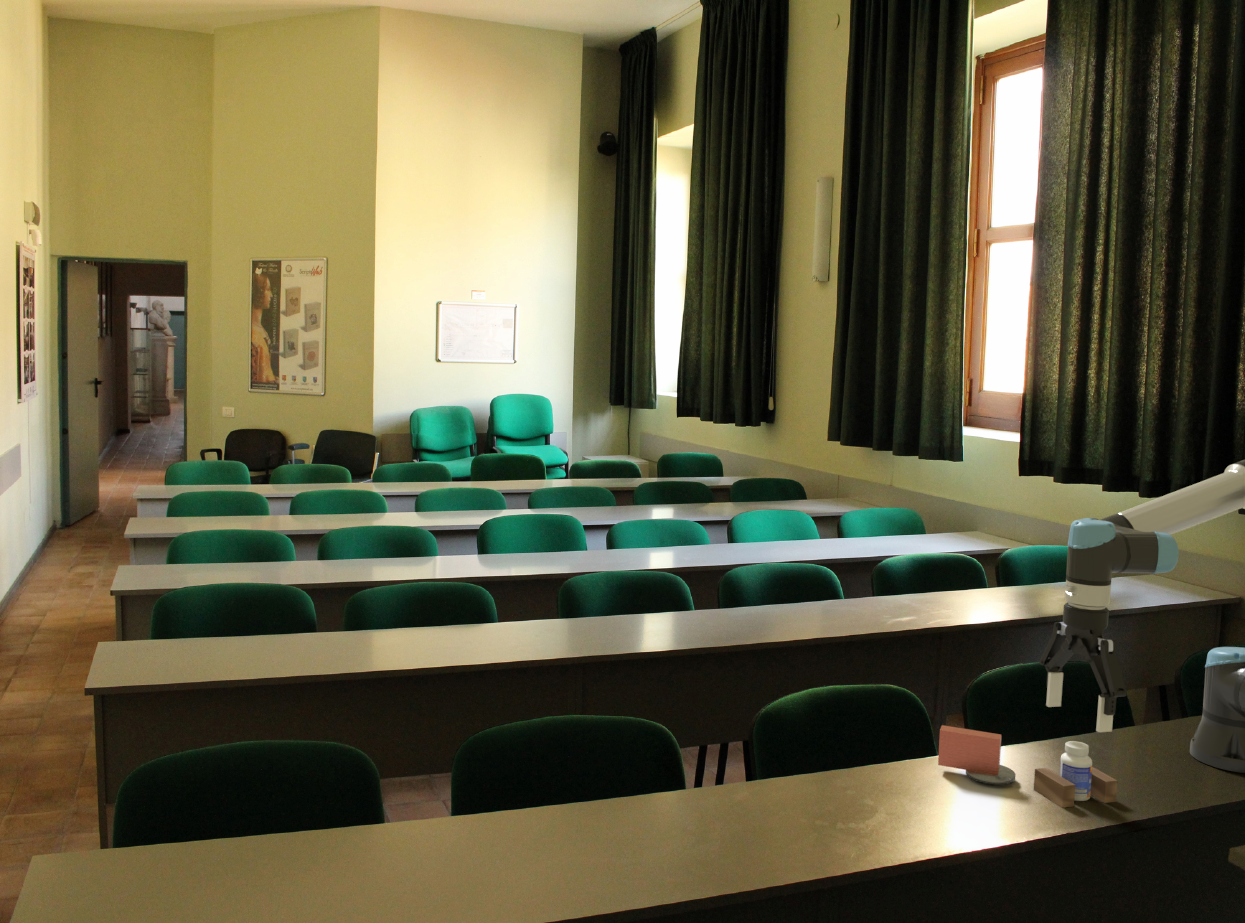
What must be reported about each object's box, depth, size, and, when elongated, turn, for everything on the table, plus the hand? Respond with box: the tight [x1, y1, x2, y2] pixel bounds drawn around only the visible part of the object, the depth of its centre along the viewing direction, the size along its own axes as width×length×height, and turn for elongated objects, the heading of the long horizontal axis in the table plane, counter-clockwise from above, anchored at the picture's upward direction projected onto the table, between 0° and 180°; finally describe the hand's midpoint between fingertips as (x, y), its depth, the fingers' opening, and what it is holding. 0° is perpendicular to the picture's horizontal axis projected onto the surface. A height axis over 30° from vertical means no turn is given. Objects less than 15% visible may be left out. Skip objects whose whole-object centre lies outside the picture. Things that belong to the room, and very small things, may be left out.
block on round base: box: [937, 724, 1016, 786], centre depth 198 cm, size 9×14×8 cm, turn 65°
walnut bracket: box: [1033, 766, 1118, 808], centre depth 190 cm, size 12×8×4 cm
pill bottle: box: [1059, 740, 1093, 802], centre depth 190 cm, size 5×5×10 cm
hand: (1077, 718), depth 189 cm, fingers open, 13 cm apart
